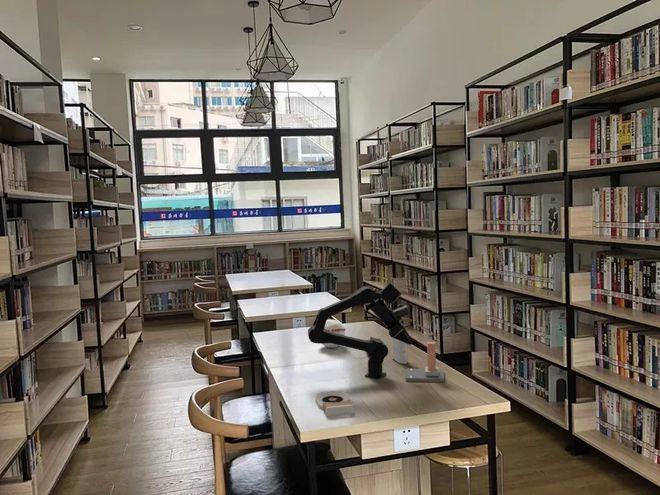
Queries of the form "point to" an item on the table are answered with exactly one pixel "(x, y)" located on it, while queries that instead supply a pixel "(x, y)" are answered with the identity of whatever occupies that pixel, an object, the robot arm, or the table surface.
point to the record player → (335, 403)
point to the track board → (423, 376)
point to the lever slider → (431, 360)
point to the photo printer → (399, 351)
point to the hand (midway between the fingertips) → (410, 341)
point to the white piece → (334, 330)
